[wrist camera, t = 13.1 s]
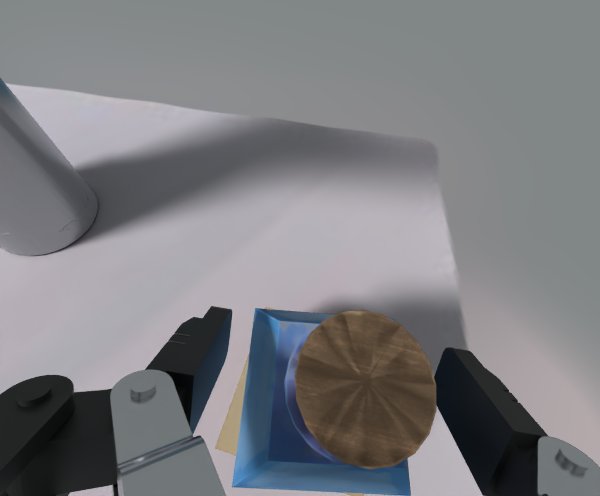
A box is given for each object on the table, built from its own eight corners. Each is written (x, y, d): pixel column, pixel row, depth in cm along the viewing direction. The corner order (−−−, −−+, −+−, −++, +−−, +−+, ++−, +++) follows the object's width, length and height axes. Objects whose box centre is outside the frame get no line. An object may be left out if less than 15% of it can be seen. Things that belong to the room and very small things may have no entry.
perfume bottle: (245, 458, 15) (190, 572, 5) (259, 336, 18) (244, 244, 8) (362, 464, 16) (549, 585, 5) (358, 344, 19) (471, 265, 8)
